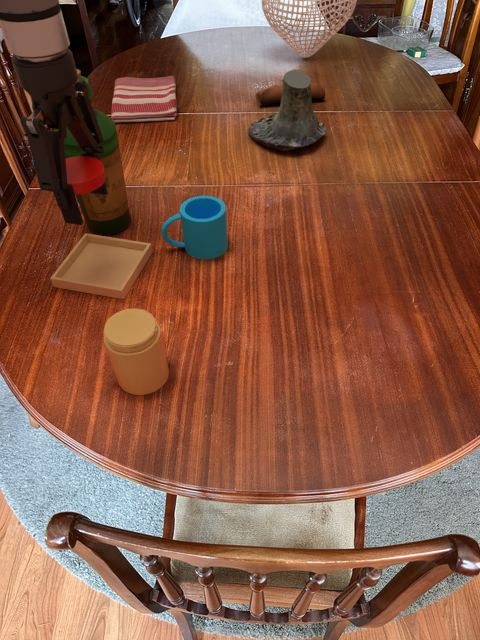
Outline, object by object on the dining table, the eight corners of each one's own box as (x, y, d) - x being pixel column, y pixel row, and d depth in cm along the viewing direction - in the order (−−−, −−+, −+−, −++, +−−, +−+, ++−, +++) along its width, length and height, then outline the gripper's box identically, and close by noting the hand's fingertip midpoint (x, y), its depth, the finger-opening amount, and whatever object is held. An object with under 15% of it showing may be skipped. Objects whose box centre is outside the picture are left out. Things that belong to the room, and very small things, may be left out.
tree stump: (305, 114, 133) (321, 46, 118) (332, 167, 125) (353, 102, 109) (239, 120, 129) (246, 50, 113) (262, 176, 120) (273, 109, 105)
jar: (109, 389, 74) (90, 341, 66) (129, 351, 79) (115, 302, 71) (158, 399, 73) (145, 352, 65) (176, 360, 77) (166, 311, 69)
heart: (340, 45, 165) (350, -39, 149) (356, 63, 155) (368, -25, 139) (256, 51, 161) (256, -35, 144) (267, 70, 151) (268, -20, 135)
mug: (224, 230, 99) (221, 193, 93) (231, 256, 94) (229, 218, 88) (162, 238, 97) (156, 200, 91) (166, 264, 92) (159, 227, 86)
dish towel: (175, 83, 145) (174, 73, 143) (178, 120, 129) (176, 110, 127) (115, 86, 143) (113, 76, 141) (110, 124, 128) (108, 114, 126)
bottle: (112, 246, 96) (71, 92, 74) (70, 229, 99) (19, 77, 78) (148, 217, 102) (118, 68, 80) (107, 202, 105) (69, 55, 84)
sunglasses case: (315, 87, 142) (321, 70, 136) (321, 109, 141) (327, 93, 135) (253, 93, 139) (256, 76, 133) (258, 116, 138) (261, 100, 132)
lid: (102, 194, 75) (99, 183, 74) (46, 195, 75) (42, 185, 74) (109, 165, 81) (107, 155, 79) (57, 167, 80) (54, 156, 79)
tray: (53, 287, 88) (49, 278, 87) (87, 241, 97) (85, 233, 95) (124, 299, 86) (121, 290, 85) (152, 252, 95) (151, 243, 93)
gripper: (54, 22, 71) (94, 171, 89) (-36, 81, 58) (32, 242, 75) (103, 26, 70) (134, 176, 88) (23, 87, 57) (78, 249, 74)
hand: (87, 206), depth 81 cm, fingers closed on lid, 8 cm apart
